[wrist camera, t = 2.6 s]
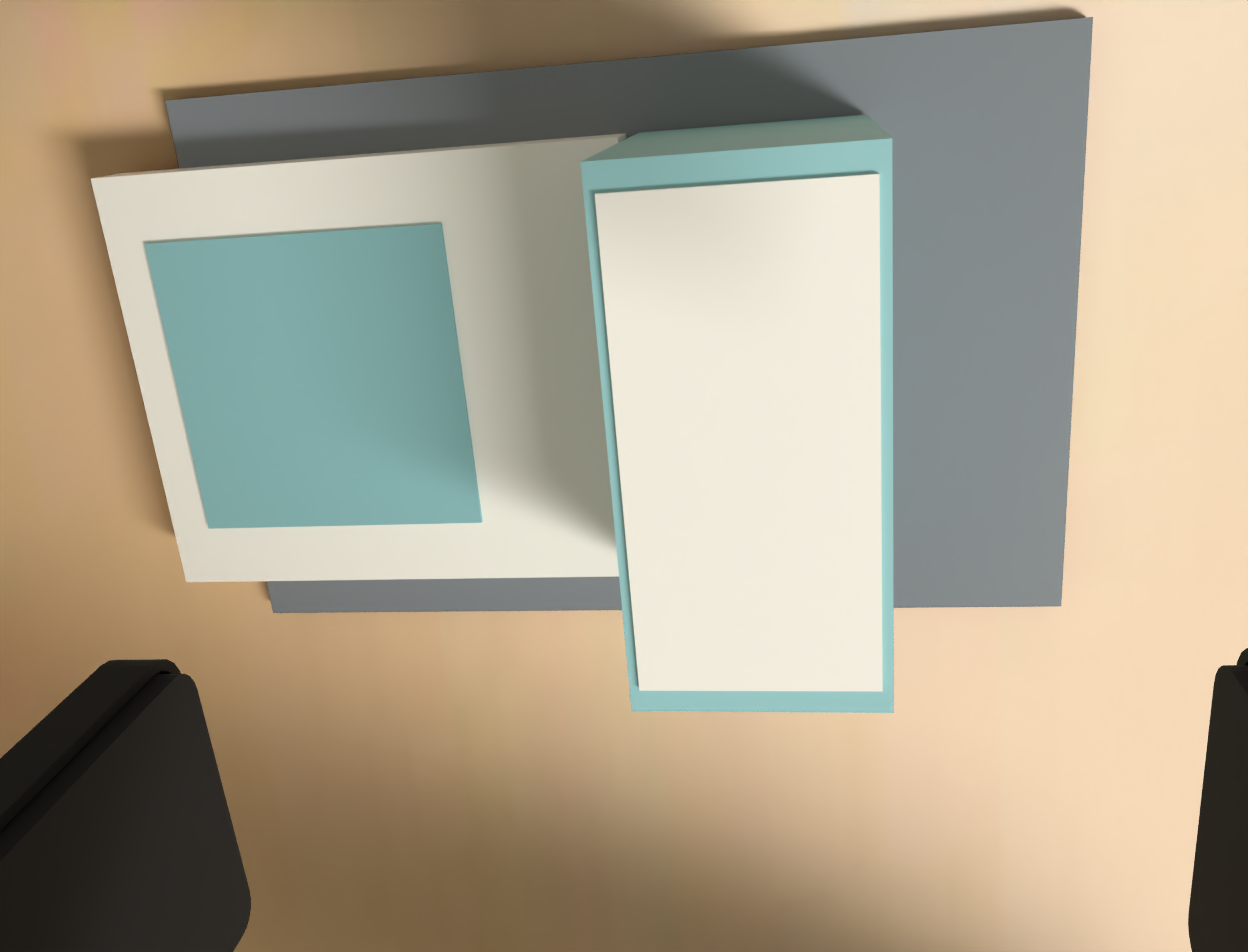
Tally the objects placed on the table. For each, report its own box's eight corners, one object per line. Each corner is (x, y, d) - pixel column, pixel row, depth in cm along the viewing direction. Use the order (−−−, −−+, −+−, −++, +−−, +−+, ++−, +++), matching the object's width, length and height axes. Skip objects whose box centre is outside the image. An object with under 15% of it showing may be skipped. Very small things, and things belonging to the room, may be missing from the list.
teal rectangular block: (867, 114, 23) (893, 138, 17) (871, 553, 27) (894, 716, 20) (638, 132, 24) (579, 162, 18) (671, 556, 28) (630, 714, 21)
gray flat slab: (1087, 17, 23) (1109, 15, 21) (1057, 598, 27) (1073, 632, 26) (114, 105, 26) (71, 108, 25) (227, 606, 31) (196, 636, 29)
